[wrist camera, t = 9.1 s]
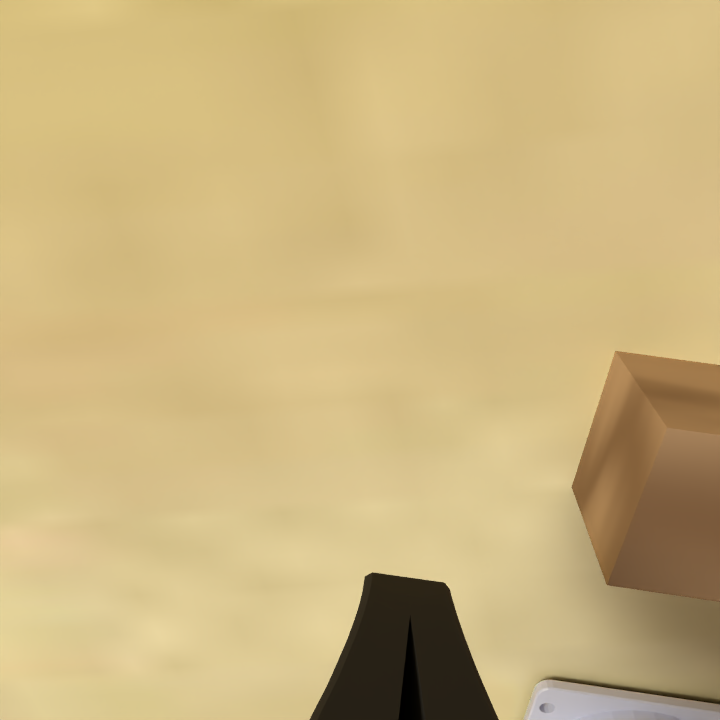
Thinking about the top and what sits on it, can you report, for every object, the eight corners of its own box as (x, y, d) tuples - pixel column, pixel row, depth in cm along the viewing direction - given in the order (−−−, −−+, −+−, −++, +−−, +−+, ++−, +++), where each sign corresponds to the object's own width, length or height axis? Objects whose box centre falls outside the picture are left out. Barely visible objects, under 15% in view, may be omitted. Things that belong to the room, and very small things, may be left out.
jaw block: (722, 506, 19) (794, 612, 15) (571, 484, 19) (607, 585, 15) (783, 372, 17) (883, 458, 13) (614, 349, 17) (667, 427, 13)
